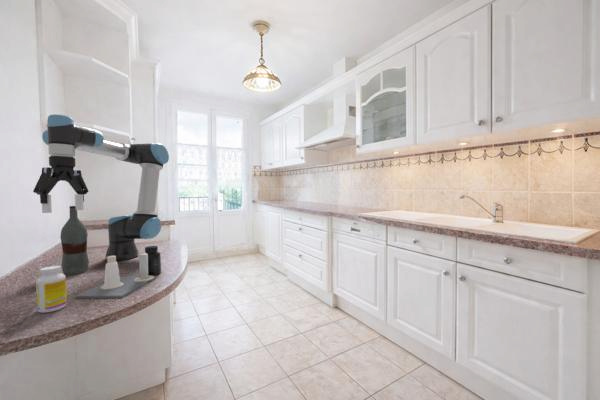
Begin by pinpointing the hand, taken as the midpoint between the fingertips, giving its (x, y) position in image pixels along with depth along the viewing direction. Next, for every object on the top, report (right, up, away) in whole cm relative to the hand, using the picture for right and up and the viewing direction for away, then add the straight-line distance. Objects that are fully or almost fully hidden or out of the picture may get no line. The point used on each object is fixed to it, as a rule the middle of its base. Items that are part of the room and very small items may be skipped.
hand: (64, 211), depth 100 cm
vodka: (-10, -29, +17) cm, 35 cm away
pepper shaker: (+21, -28, -3) cm, 35 cm away
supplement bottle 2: (+26, -28, +13) cm, 41 cm away
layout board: (+23, -29, -3) cm, 37 cm away
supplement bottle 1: (+15, -30, -20) cm, 39 cm away
